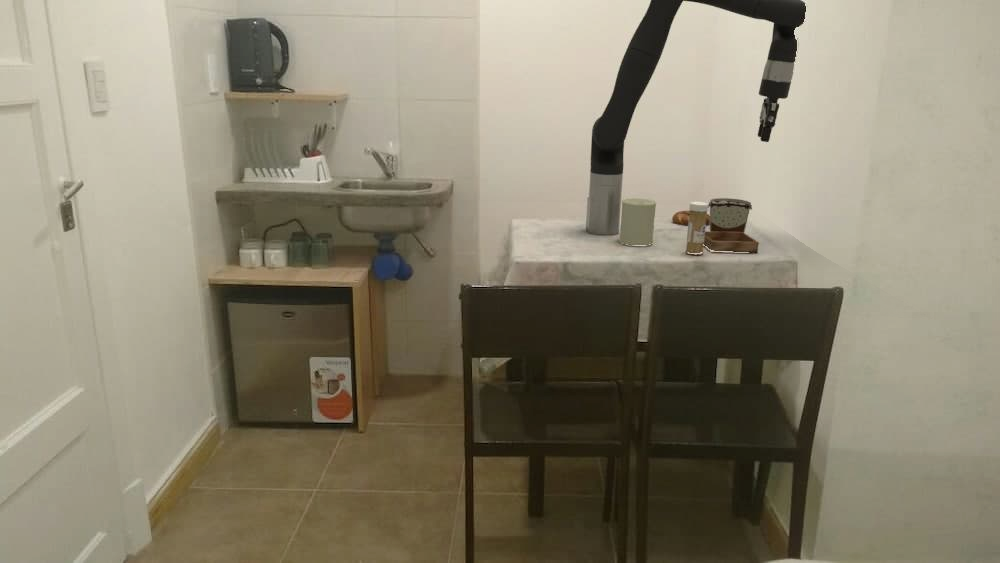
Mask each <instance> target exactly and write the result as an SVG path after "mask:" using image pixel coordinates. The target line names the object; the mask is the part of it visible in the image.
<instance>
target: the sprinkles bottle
mask: <svg viewBox="0 0 1000 563" xmlns="http://www.w3.org/2000/svg"><path fill="white" fill-rule="evenodd" d="M708 205H709V203H707V202H705V201H704V202H703V201H691V202H690V203H689V211H690V215H689V223H688V226H687V234H686V248H685V253H686V252H689V253H700V252H703V253H704V246H703V244H704V237H705V231H706V226H705V225H706V215H707V214H708V210H709V208H708Z"/></svg>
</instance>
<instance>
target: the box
mask: <svg viewBox="0 0 1000 563" xmlns="http://www.w3.org/2000/svg"><path fill="white" fill-rule="evenodd" d="M704 245H705V246H707V247H708V248H709V249H711V250H714V251H733V252H749V253H748V254H753V253H757V254H758V252H759V245H760V243H759V241H757V240H756V239H754V238H753V237H751V236H749V235H748V234H746V233H745V232H744V233H743V232H712V231H710V230H709V231H706V230H705V237H704Z"/></svg>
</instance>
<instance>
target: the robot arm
mask: <svg viewBox="0 0 1000 563" xmlns="http://www.w3.org/2000/svg"><path fill="white" fill-rule="evenodd" d="M683 2H689V3H690V2H692V3H698V4H701V5H702V4H703V5H706V6H711V7H714V8H716V9H721V10H725V11H727V12H730V13H734V14H737V15H740V16H742V17H744V16H745V17H748V18H751V19H755V20H763V21H768V22H770V23H773V26H772V37H771V42H770V46H769V50H768V54H767V59H766V62H765V65H764V67H763V73H762V77H761V82H760V86H759V90H758V95H759V96H761V97H765V98H764V99H763V102H762V104H761V110H760V112H759V113H760V115H759V127H758V131H757V137H758V138H760V141H761V142H765V143H769V142H770V139H771V134H772V131H773V129H774V127H775V126H776V120H777V117H778V116H777V115H778V112H779V109H780V103H778V102H779V100H781V99H783V100H785V99H787V98H788V96H789V92H790V88H791V84H792V81H791V80H793V76H794V72H793V70H794V71H795V64H794V62H795V63H796V59H795V57H796V58H797V55H796V51H797V40H798V39H797V40H796V39H795V35H794V30H795V28H796V27H799V26H800V27H801V26H802V25H803V24H804V23H805V22H804V19H805V12H806V6H805V4H806V3H805V1H803V0H650V2H649V5H648V7H647V10H646V12H645V13H644V16H643V17H642V19H641V21H640V23H639V24H638V26H637V28H636V29H635V31H634V33H633V34H632V37H631V39H630V41H629V42H628V43H629V44H628V45H627V48H626V50H625V53H624V55H623V58H622V59H621V63H620V65H619V69H618V71H617V75H616V77H615V78H616V79H615V83H614V86H613V91H612V93H611V96H610V99H609V101H608V103H607V105H606V107H605V109H604V111H603V113H602V115H601V116H600V117H598V118H597V119H596V120H595V121H594V123H593V126H592V130H591V142H590V143H591V148H590V174H589V190H588V196H587V198H586V199H587V200H586V201H587V202H586V220H585V230H586V231H587V233H588V234H594V235H605V236H606V235H608V236H609V235H616V234H619V233H620V223H621V220H620V219H621V209H622V191H623V178H624V177H623V176H624V151H625V150H624V149H625V140H626V138H627V135H628V131H629V128H630V126H631V123H632V122H631V121H632V119H633V116H634V113H635V110H636V108H637V106H638V104H639V102H640V100H641V98H642V96H643V94H644V93H645V91H646V89H647V87H648V84H650V81H651V79H652V77H653V75H654V73H655V70H656V68H657V66H658V64H659V63H660V59H661V58H662V54H663V52H664V49H665V46H666V43H667V40H668V37H669V34H670V31H671V28H672V25H673V21H674V20H675V17H676V16H677V13H678V11H679V9H680V7H681V5H682V3H683ZM803 22H804V23H803ZM797 52H798V51H797Z"/></svg>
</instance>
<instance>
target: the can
mask: <svg viewBox="0 0 1000 563" xmlns="http://www.w3.org/2000/svg"><path fill="white" fill-rule="evenodd" d="M656 206H657V202H656V201H655V200H652V199H647V198H625V199H621V215H620V219H621V220H620V229H619V234H620V235H619V241H618V242H620V243H619V244H621V243H623V244H628V245H649V244H652V243H653V244H654V240H653V239H654V227H655V217H656ZM623 244H622V245H623Z"/></svg>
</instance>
